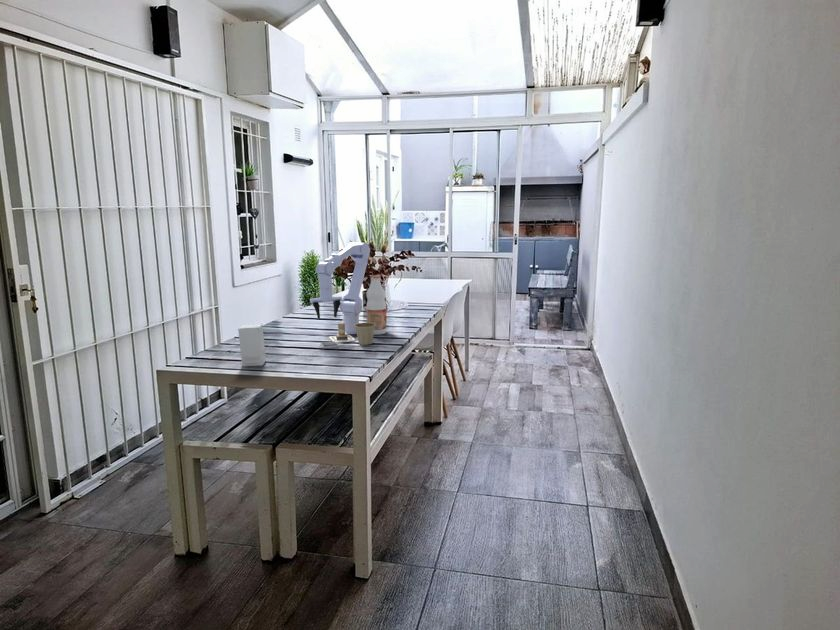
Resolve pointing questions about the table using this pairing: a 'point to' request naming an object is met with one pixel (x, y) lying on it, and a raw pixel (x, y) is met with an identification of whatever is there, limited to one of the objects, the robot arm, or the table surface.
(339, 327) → the stamp
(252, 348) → the skincare box
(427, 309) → the table surface
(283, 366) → the table surface
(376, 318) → the fruit juice
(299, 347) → the table surface
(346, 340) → the print card
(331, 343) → the ink pad
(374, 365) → the table surface
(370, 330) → the flower pot
